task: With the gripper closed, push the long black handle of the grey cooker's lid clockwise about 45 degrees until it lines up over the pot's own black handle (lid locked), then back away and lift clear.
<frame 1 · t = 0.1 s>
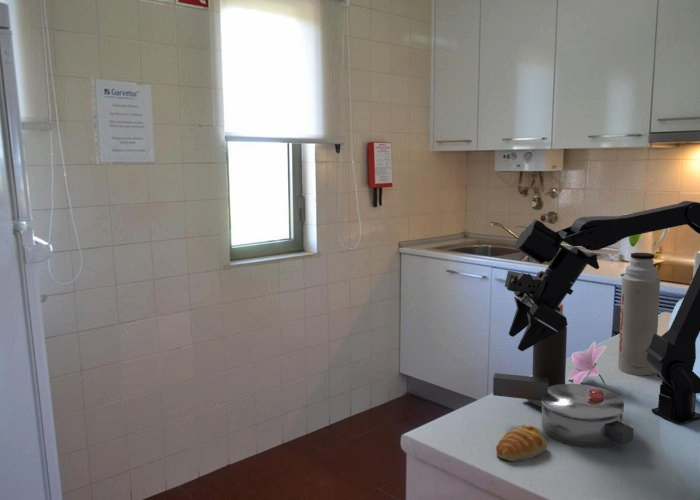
hand: (515, 342, 116), 15 cm above the counter, tool tilted 30°, fingers open, 9 cm apart
lily: (586, 385, 133), on the counter
vinegar: (548, 393, 128), on the counter
lid: (556, 391, 111), point 7 cm above the counter, hinge at 45.0°
pastry: (521, 452, 104), on the counter
pot: (580, 429, 111), on the counter
thermos bottle: (636, 370, 141), on the counter
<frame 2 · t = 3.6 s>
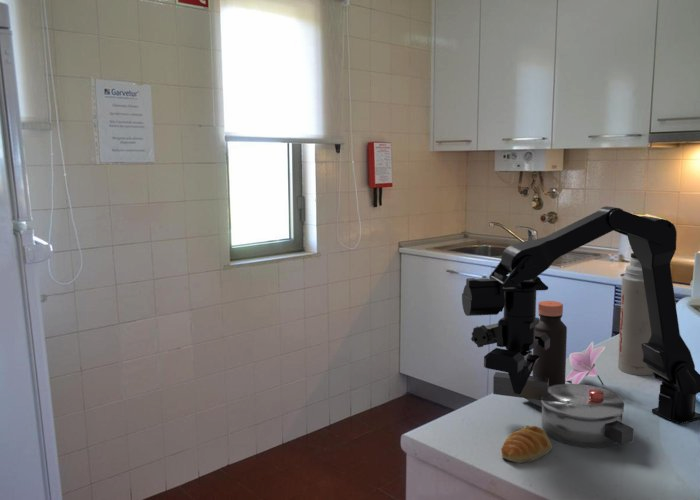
hand: (517, 393, 112), 7 cm above the counter, tool pointing down, fingers closed
lid: (556, 390, 112), point 7 cm above the counter, hinge at 42.7°, touching gripper
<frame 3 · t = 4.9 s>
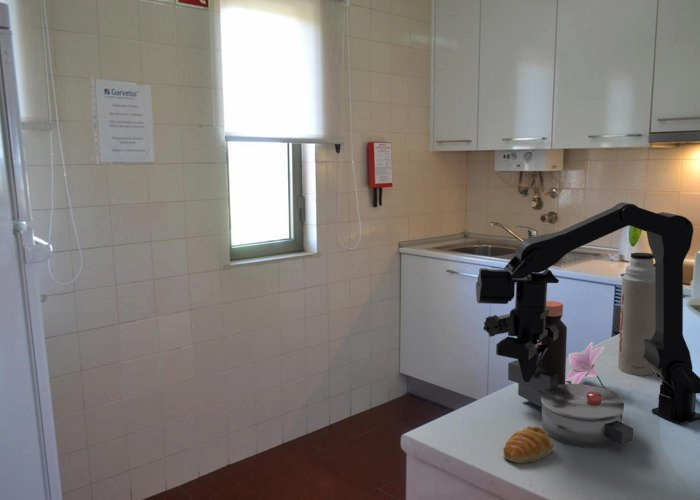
hand: (526, 381, 117), 7 cm above the counter, tool pointing down, fingers closed
lid: (561, 386, 113), point 7 cm above the counter, hinge at 11.6°, touching gripper
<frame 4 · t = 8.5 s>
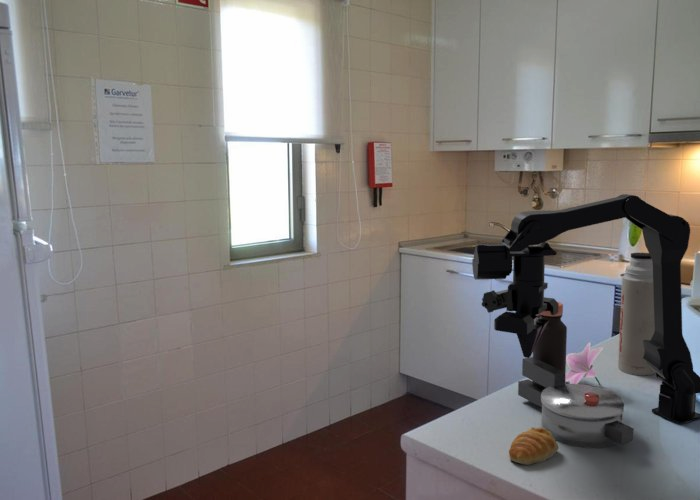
hand: (527, 356, 115), 13 cm above the counter, tool pointing down, fingers closed
lid: (565, 385, 114), point 7 cm above the counter, hinge at -3.8°
at the end: lid at -4° (first picture: +45°) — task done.
